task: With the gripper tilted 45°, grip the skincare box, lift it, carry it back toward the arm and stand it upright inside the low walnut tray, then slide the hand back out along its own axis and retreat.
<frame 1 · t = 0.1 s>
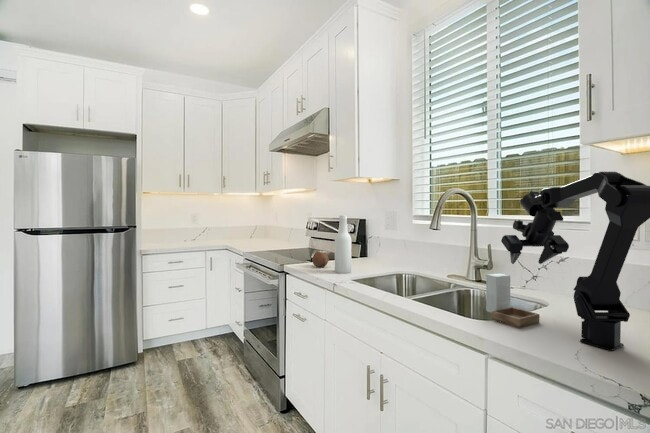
hand: (525, 263, 112), 15 cm above the worktop, tool tilted 35°, fingers open, 9 cm apart
walnut tray: (515, 321, 98), on the worktop
skincare box: (497, 312, 107), on the worktop
onion: (320, 267, 193), on the worktop
alcohol: (342, 272, 176), on the worktop
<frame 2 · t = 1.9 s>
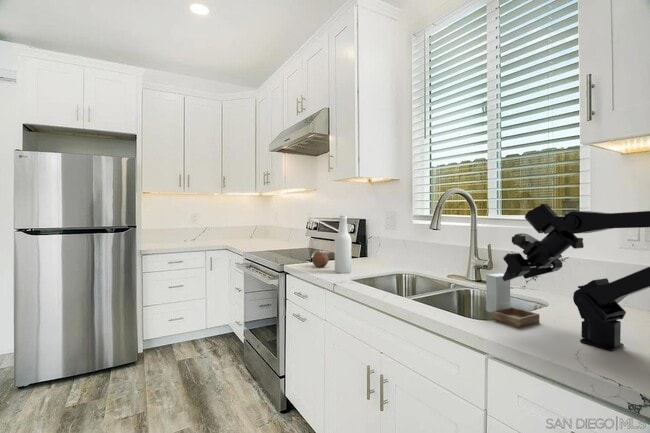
hand: (514, 278, 102), 12 cm above the worktop, tool tilted 45°, fingers open, 9 cm apart
nothing on the worktop moved.
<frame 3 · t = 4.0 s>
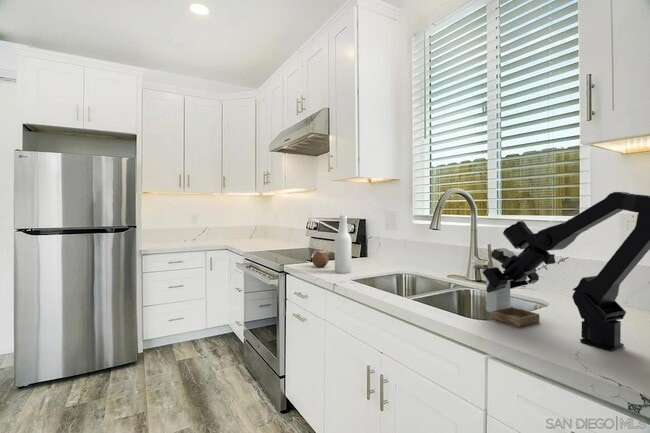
hand: (494, 290, 109), 7 cm above the worktop, tool tilted 45°, fingers closed on skincare box, 6 cm apart
skincare box: (497, 312, 107), on the worktop, touching gripper
everything else where it was.
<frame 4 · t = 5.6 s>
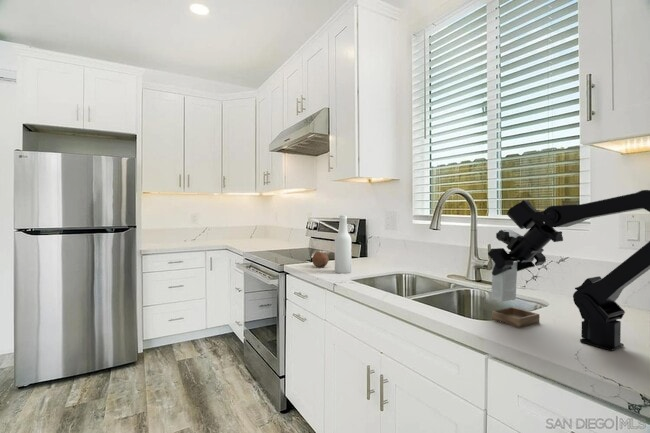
hand: (500, 273, 106), 13 cm above the worktop, tool tilted 45°, fingers closed on skincare box, 6 cm apart
skincare box: (503, 299, 105), point 5 cm above the worktop, touching gripper
everything else where it was.
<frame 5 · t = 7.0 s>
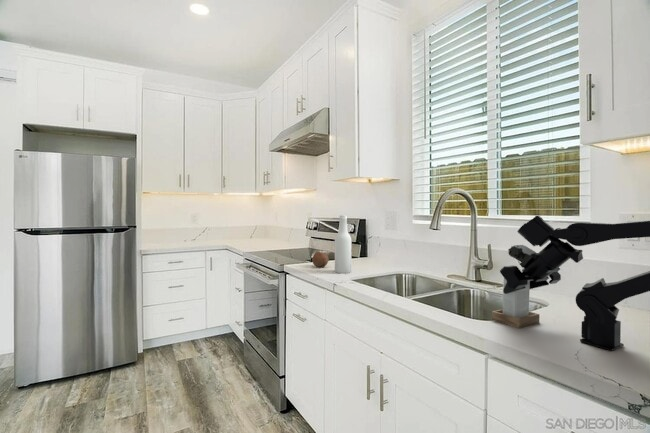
hand: (511, 291, 99), 9 cm above the worktop, tool tilted 45°, fingers closed on skincare box, 6 cm apart
skincare box: (514, 319, 99), resting on walnut tray, touching gripper
everything else where it was.
when the fingers open (8 cm above the worktop, at t = 7.5 s): skincare box stays where it is, resting on walnut tray.
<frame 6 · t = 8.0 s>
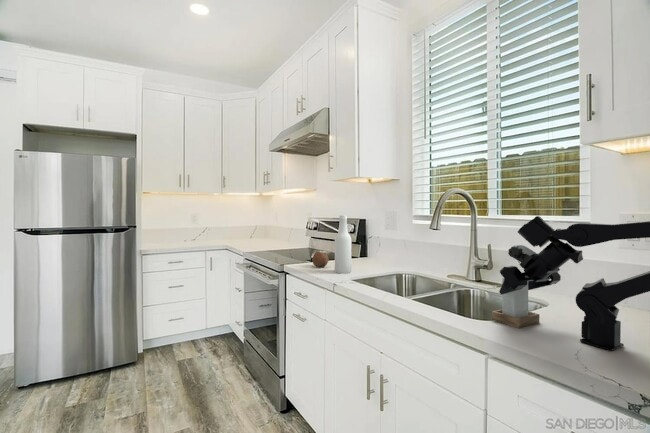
hand: (511, 291, 100), 8 cm above the worktop, tool tilted 45°, fingers open, 9 cm apart
skincare box: (514, 319, 99), resting on walnut tray
everything else where it was.
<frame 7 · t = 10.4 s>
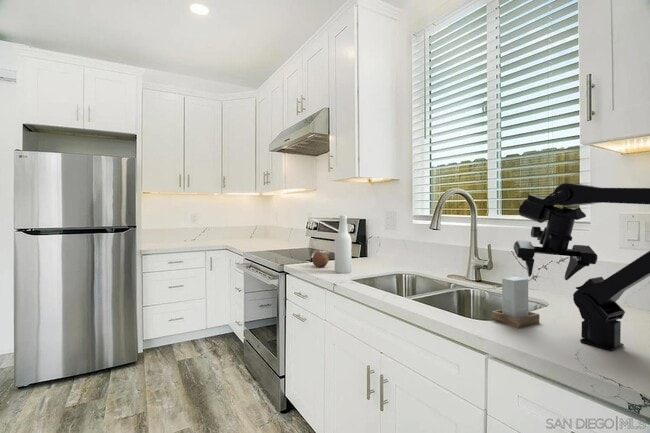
hand: (547, 277, 96), 13 cm above the worktop, tool tilted 25°, fingers open, 9 cm apart
nothing on the worktop moved.
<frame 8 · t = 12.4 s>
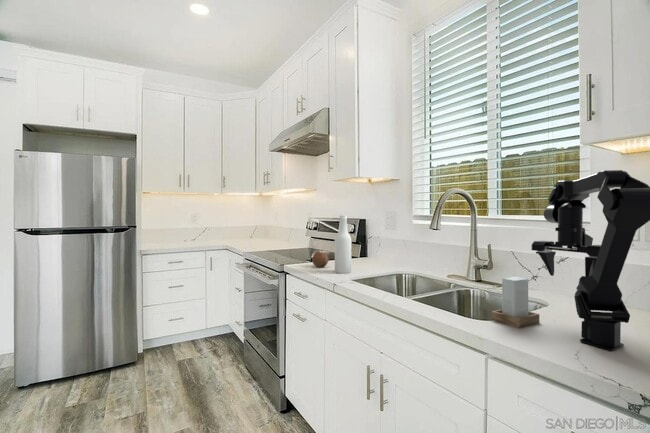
hand: (569, 278, 96), 13 cm above the worktop, tool pointing down, fingers open, 9 cm apart
nothing on the worktop moved.
at the end: skincare box 0.2 cm off-centre on the walnut tray, point 0.4 cm above the walnut tray's base; skincare box tilted 0°; the gripper is holding nothing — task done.
